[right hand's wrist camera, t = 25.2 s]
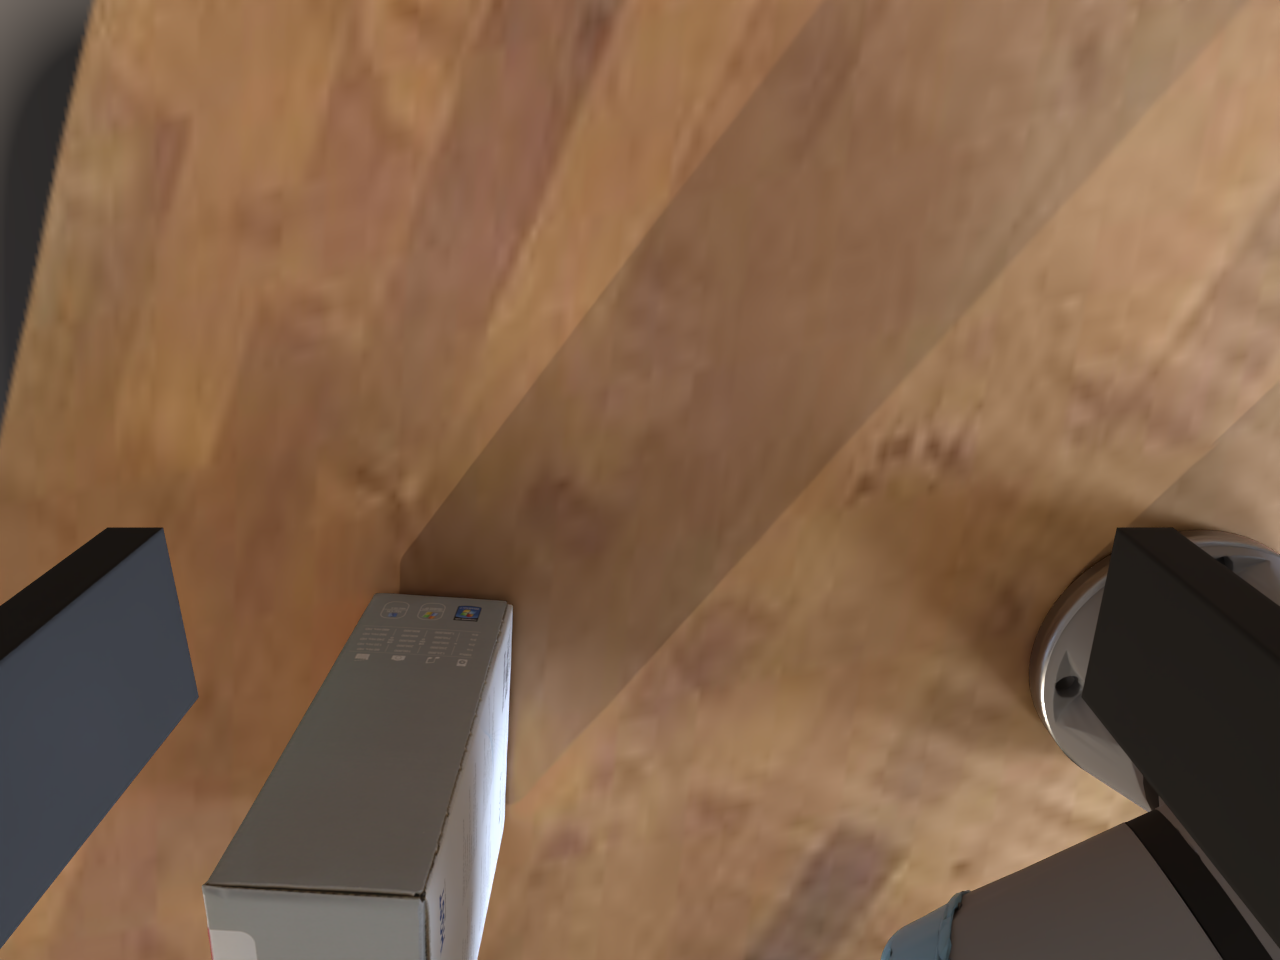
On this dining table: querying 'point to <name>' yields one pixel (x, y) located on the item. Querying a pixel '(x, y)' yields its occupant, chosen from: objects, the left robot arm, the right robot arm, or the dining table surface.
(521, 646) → the dining table surface
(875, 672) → the dining table surface
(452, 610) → the hard drive box
